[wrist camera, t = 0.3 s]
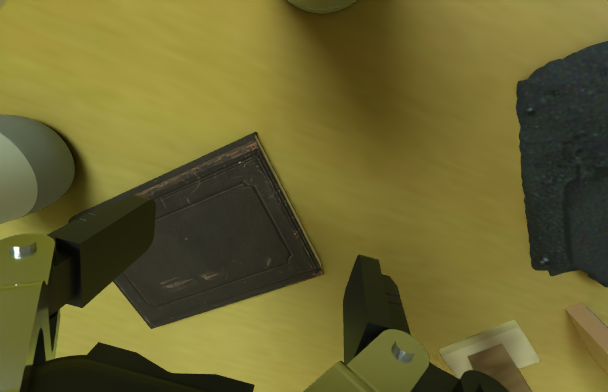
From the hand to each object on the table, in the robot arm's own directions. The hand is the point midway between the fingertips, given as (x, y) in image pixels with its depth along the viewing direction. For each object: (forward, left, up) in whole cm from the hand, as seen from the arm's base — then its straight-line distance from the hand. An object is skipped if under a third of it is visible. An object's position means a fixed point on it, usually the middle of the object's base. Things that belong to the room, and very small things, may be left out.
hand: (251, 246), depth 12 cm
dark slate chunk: (-3, +27, -19) cm, 34 cm away
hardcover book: (+13, -9, -19) cm, 25 cm away
